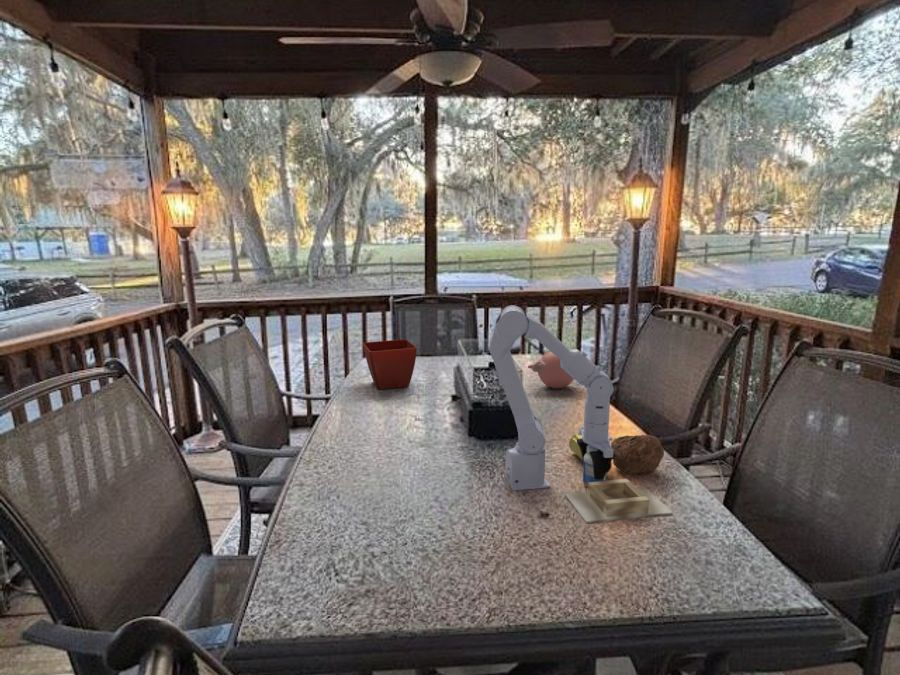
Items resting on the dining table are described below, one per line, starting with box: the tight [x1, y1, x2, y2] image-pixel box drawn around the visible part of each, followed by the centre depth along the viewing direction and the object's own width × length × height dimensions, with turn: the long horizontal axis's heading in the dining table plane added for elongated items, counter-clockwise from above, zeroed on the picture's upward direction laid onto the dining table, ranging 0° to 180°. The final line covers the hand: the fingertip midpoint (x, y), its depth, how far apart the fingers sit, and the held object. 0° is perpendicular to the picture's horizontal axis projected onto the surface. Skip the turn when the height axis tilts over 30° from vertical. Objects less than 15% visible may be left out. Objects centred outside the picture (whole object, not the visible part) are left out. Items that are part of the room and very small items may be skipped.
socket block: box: [564, 478, 673, 524], centre depth 115 cm, size 20×12×3 cm, turn 99°
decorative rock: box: [610, 434, 665, 476], centre depth 131 cm, size 13×11×10 cm
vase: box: [568, 432, 613, 475], centre depth 136 cm, size 6×6×14 cm
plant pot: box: [362, 338, 418, 390], centre depth 209 cm, size 19×19×17 cm
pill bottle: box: [582, 445, 607, 487], centre depth 124 cm, size 6×5×10 cm
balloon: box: [527, 350, 575, 390], centre depth 202 cm, size 15×20×15 cm
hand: (593, 473), depth 125 cm, fingers closed on pill bottle, 5 cm apart
